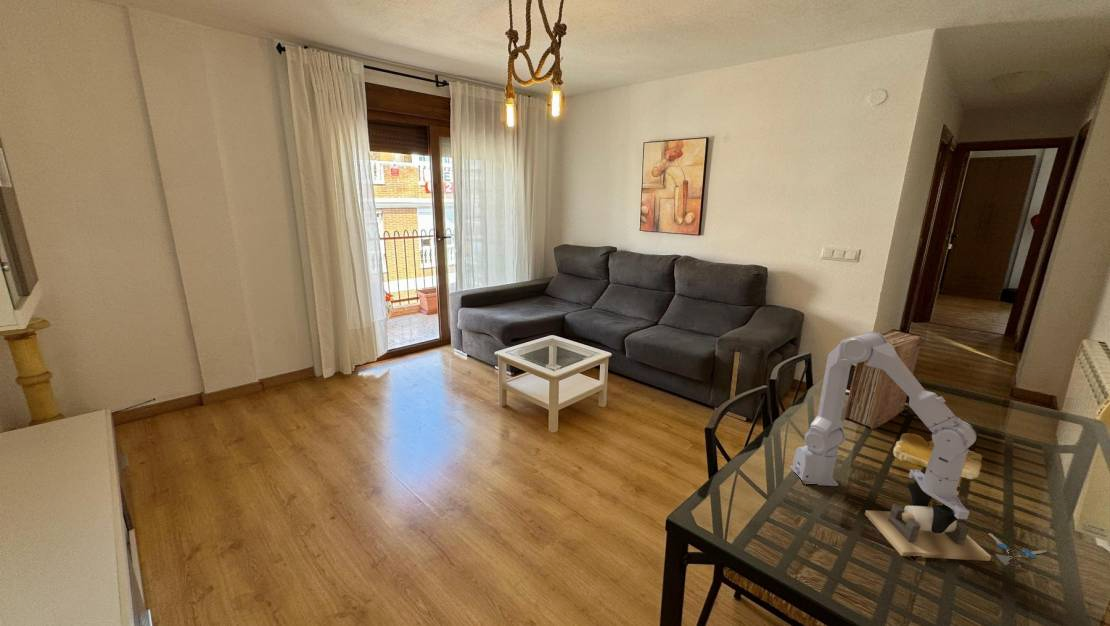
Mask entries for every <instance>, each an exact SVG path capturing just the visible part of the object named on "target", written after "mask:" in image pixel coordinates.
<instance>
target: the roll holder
mask: <svg viewBox="0 0 1110 626" xmlns="http://www.w3.org/2000/svg"><path fill="white" fill-rule="evenodd" d="M904 511H905V510H904V508H903V507H902V506H901V505H900V504H892V505H891V509H890V511H884V510H883V511H882V510H868V509H867V510H865V512H864V516H866V517H867V519H868V520H869V521H870V522H871V523H872V524H873V525H874V527H876V529H877V530H878V531H879V532H880V533H881V535H883V537H884V538H885V539H886V540H887V542H888V543H889V544H890V545H892V547H893V548H894V549H895V550H896V552H897V553H899V555H900V556H901V557H911V556H914V557H915V556H922V557H921V558H930V559H931V558H932V559H933V558H934V559H948V560H949V559H951V560H967V561H969V560H970V561H983V562H990V561H991V559H992V556H991V555H990V553H988V552H987V551H986V550H985V549H984V548H983V547H982V546H980V545H979V544H978V543H977V542H976V541H975V540H974V539H973V538H971V537H970V536H969V535H968V533H969V530H970V528H969V527H968V526H967V525H966V524H964V523H963V522H957V526H956V529H955V530H954V531H953V532H943V533H934V532H932V531H922V530H920V527H921V526H920V525H919V524H918V523H917V522H916V521H915V520H907V524H906V523H905V522H904V521H903V519H902V513H904ZM915 558H916V557H915Z"/></svg>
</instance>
